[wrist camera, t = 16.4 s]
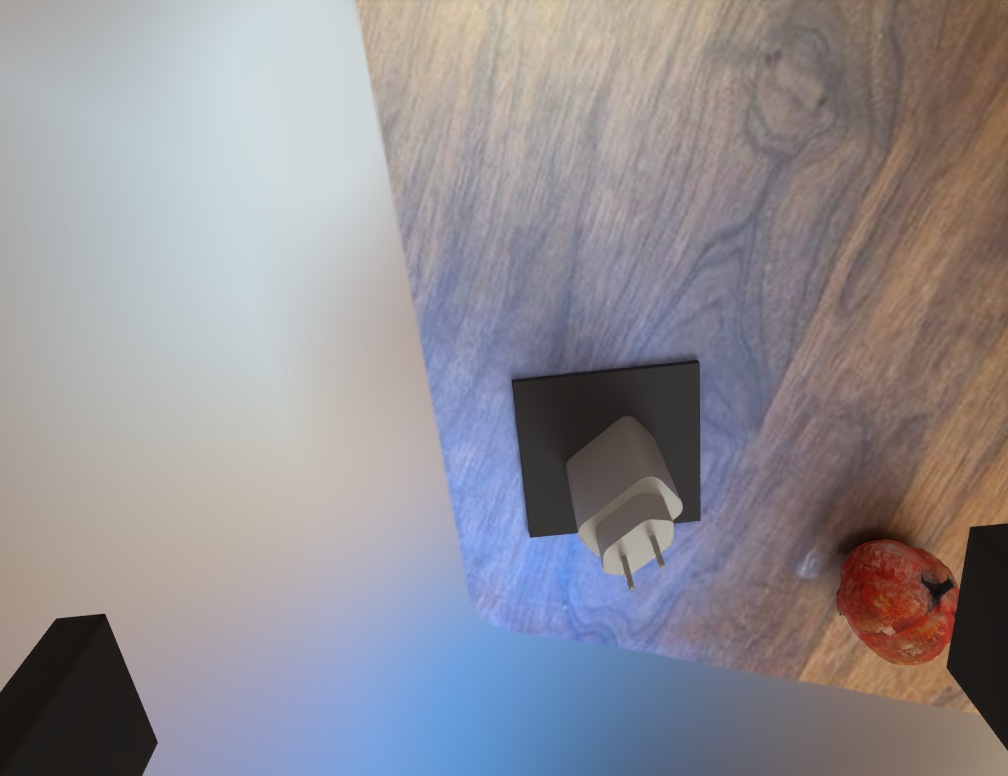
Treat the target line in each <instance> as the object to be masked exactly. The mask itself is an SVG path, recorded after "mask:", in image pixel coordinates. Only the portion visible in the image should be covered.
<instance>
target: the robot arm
mask: <svg viewBox="0 0 1008 776" xmlns="http://www.w3.org/2000/svg"><path fill="white" fill-rule="evenodd" d="M946 668H947V669H948V670H949V672H950V673H951V675H952V676H953V677H954V679H955V680H956V681H957V683H958V684H959V685H960V687H961V688H962V689H963V691H964V692H965V693H966V695H967V696H968V698H969V699H970V700H971V702H972V703H973V704H974V706H975V707H976V708H977V710H978V711H979V712H980V714H981V715H982V716H983V718H984V719H985V721H986V722H987V723H988V725H989V726H990V727H991V729H992V730H993V731H994V733H995V734H996V735H997V737H998V738H999V739H1000V741H1001V742H1002V743H1003V745H1004V746H1005V748H1006V749H1007V750H1008V523H1007V524H997V525H987V526H977V527H970V532H969V538H968V544H967V550H966V555H965V561H964V567H963V573H962V579H961V585H960V591H959V597H958V603H957V608H956V614H955V620H954V626H953V632H952V638H951V644H950V650H949V656H948V661H947V667H946ZM157 743H158V742H157V739H156V737H155V734H154V732H153V730H152V727H151V725H150V722H149V720H148V717H147V715H146V712H145V710H144V708H143V705H142V703H141V700H140V698H139V695H138V693H137V691H136V688H135V686H134V683H133V681H132V678H131V676H130V673H129V671H128V669H127V666H126V664H125V661H124V659H123V656H122V654H121V652H120V649H119V647H118V644H117V642H116V639H115V637H114V634H113V632H112V630H111V627H110V625H109V622H108V620H107V617H106V615H105V614H97V615H87V616H77V617H67V618H57V619H56V620H55V621H54V622H53V623H52V625H51V626H50V627H49V629H48V630H47V631H46V633H45V634H44V635H43V637H42V638H41V639H40V641H39V642H38V643H37V645H36V646H35V647H34V649H33V650H32V651H31V653H30V654H29V655H28V656H27V658H26V659H25V660H24V662H23V663H22V664H21V666H20V667H19V668H18V670H17V671H16V672H15V674H14V675H13V676H12V677H11V679H10V680H9V681H8V683H7V684H6V685H5V687H4V688H3V690H2V691H1V692H0V776H142V775H143V773H144V771H145V768H146V766H147V764H148V762H149V760H150V758H151V756H152V754H153V752H154V750H155V747H156V745H157Z"/></svg>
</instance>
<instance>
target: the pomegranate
mask: <svg viewBox="0 0 1008 776" xmlns="http://www.w3.org/2000/svg"><path fill="white" fill-rule="evenodd" d="M840 576H841V578H842V581H841V587H840V589H839V590H838V591H837V594H836V601H837V606H838V609H839V611H840V614H839V615H840V616H841V615H844V616H845V617H846V618H847V620H848V622H849V624H850V625H851V627H852V629H853V630H854V632H855V633H856V635H857V636H858V637H859V638H860V639H861V640H862V641H863V642H865V643H866V645H867V646H868V647H869V648H870V649H872V650H873V651H874V652H875V653H876V654H877V655H878V656H880V657H882V658H883V659H885V660H887V661H889V662H891V663H893V664H900V665H918V664H922V663H925V662H929V661H932V660H933V659H935V658H937V657H938V656H939V655H940V653H941V652H942V651H943V650H944V648H945V646H946V645H947V644H948V643H951V638H952V632H953V626H954V620H955V614H956V608H957V603H958V597H959V591H960V590H959V588H958V585H957V583H956V581H955V578H954V576H953V575H952V573H951V571H950V569H949V568H948V567H947V566H946V565H944V564H943V563H942V562H941V561H940V560H939V559H937V558H936V557H934V556H933V555H932V554H931V553H928V552H926V551H924V550H922V549H917V548H910V547H908V546H906V545H904V544H903V543H900V542H897V541H894V540H891V539H886V540H877V541H870V542H866V543H864V544H861V545H859V546H857V547H856V548H855V549H854V550H853V551H852V552H850V553H849V554H848V555H847V557H846V559H845V561H844V562H843V564H842V566H841V569H840Z"/></svg>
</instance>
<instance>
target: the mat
mask: <svg viewBox="0 0 1008 776" xmlns="http://www.w3.org/2000/svg"><path fill="white" fill-rule="evenodd" d="M512 384H513V392H514V401H515V410H516V419H517V428H518V436H519V445H520V454H521V463H522V472H523V480H524V489H525V498H526V507H527V516H528V524H529V533H530V538H532V537H542V536H552V535H562V534H572V533H578V530H577V524H576V519H575V513H574V508H573V502H572V497H571V491H570V486H569V480H568V475H567V469H566V463H567V462H568V460H569V459H570V458H571V457H572V456H573V455H575V454H576V453H577V452H578V451H580V450H581V449H582V448H583V447H585V446H586V445H587V444H588V443H590V442H591V441H592V440H593V439H595V438H596V437H597V436H598V435H600V434H601V433H602V432H603V431H605V430H606V429H607V428H608V427H610V426H611V425H612V424H613V423H615V422H616V421H617V420H618V419H620V418H622V417H624V416H631V417H634V418H635V419H637V420H638V421H639V422H640V423H641V424H642V425H643V426H644V428H645V429H646V430H647V431H648V432H649V433H650V434H651V435H652V436H653V437H654V439H655V441H656V443H657V446H658V448H659V450H660V453H661V455H662V457H663V460H664V462H665V464H666V467H667V469H668V471H669V474H670V476H671V478H672V481H673V483H674V486H675V488H676V490H677V493H678V495H679V497H680V500H681V502H682V506H683V509H682V512H681V513H680V515H679V516H678V517H676V518H675V519H674V520H673V523H683V522H693V521H700V363H699V361H688V362H679V363H669V364H660V365H651V366H641V367H632V368H622V369H613V370H603V371H594V372H584V373H575V374H565V375H556V376H547V377H537V378H528V379H518V380H512Z"/></svg>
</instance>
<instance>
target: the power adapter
mask: <svg viewBox="0 0 1008 776" xmlns="http://www.w3.org/2000/svg"><path fill="white" fill-rule="evenodd" d="M566 469H567V475H568V480H569V486H570V491H571V497H572V502H573V508H574V513H575V519H576V524H577V530H578V535H579V538H580V540H581V541H582V542H583V543H584V544H585V545H586V546H587V547H588V548H590V549H591V550H592V551H593V552H594V553H595V554H596V555H597V556H598V557H599V558H600V559H601V562H602V567H603V571H604V572H605V573H606V574H613V575H625V577H626V579H627V583H628V586H629V590H631V591H632V590H634V589H635V587H634V584H633V580H632V573H634V572H636V571H637V570H638V569H640V568H641V567H642V566H644V565H645V564H647V563H648V562H649V561H651V560H652V559H653V558H655V557H657V561H658V564H659V567H660V568H661V569H663V568H664V567H665V564H664V561H663V558H662V552H663V551H664V550H666V549H667V548H668V547H669V546H670V545H671V544H672V542H673V535H674V523H673V520H674V519H675V518H676V517H678V516H679V515H680V513H681V512H682V509H683V506H682V502H681V500H680V497H679V495H678V493H677V490H676V488H675V486H674V483H673V481H672V478H671V476H670V474H669V471H668V469H667V467H666V464H665V462H664V460H663V457H662V455H661V453H660V450H659V448H658V446H657V443H656V441H655V439H654V437H653V436H652V435H651V434H650V433H649V432H648V431H647V430H646V429H645V428H644V426H643V425H642V424H641V423H640V422H639V421H638V420H637V419H635V418H634V417H631V416H624V417H622V418H620V419H618V420H617V421H616V422H615V423H613V424H612V425H611V426H610V427H608V428H607V429H606V430H605V431H603V432H602V433H601V434H600V435H598V436H597V437H596V438H595V439H593V440H592V441H591V442H590V443H588V444H587V445H586V446H585V447H583V448H582V449H581V450H580V451H578V452H577V453H576V454H575V455H573V456H572V457H571V458H570V459H569V460H568V462H567V463H566Z"/></svg>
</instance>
